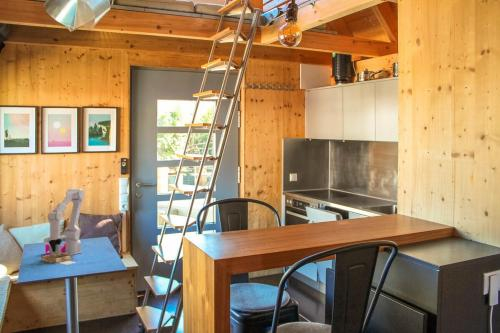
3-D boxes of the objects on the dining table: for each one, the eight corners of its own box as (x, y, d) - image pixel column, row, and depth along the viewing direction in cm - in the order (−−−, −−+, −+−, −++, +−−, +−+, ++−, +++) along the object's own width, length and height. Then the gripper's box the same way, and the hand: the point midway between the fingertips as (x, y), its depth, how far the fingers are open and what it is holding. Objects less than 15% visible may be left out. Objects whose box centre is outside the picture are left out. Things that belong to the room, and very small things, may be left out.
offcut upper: (61, 254, 291) (61, 252, 291) (68, 256, 287) (68, 253, 287) (58, 255, 289) (58, 253, 289) (65, 256, 285) (65, 254, 285)
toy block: (68, 251, 311) (68, 241, 311) (69, 253, 306) (69, 242, 305) (45, 254, 304) (45, 243, 304) (45, 256, 299) (45, 244, 298)
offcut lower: (59, 256, 292) (59, 254, 292) (69, 258, 287) (69, 256, 287) (56, 257, 290) (56, 255, 290) (65, 259, 285) (65, 257, 285)
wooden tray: (59, 256, 295) (59, 252, 295) (72, 259, 287) (72, 255, 287) (41, 260, 284) (41, 256, 284) (54, 263, 276) (54, 259, 276)
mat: (71, 260, 284) (71, 260, 284) (79, 262, 280) (79, 261, 280) (58, 263, 277) (58, 262, 277) (66, 265, 273) (66, 264, 273)
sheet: (51, 252, 288) (51, 243, 287) (60, 254, 282) (60, 245, 282) (49, 252, 286) (49, 243, 286) (58, 254, 281) (58, 245, 281)
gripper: (61, 228, 292) (61, 248, 292) (40, 231, 280) (41, 252, 280) (68, 229, 288) (68, 249, 289) (47, 232, 276) (47, 254, 276)
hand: (55, 251), depth 284 cm, fingers closed on sheet
